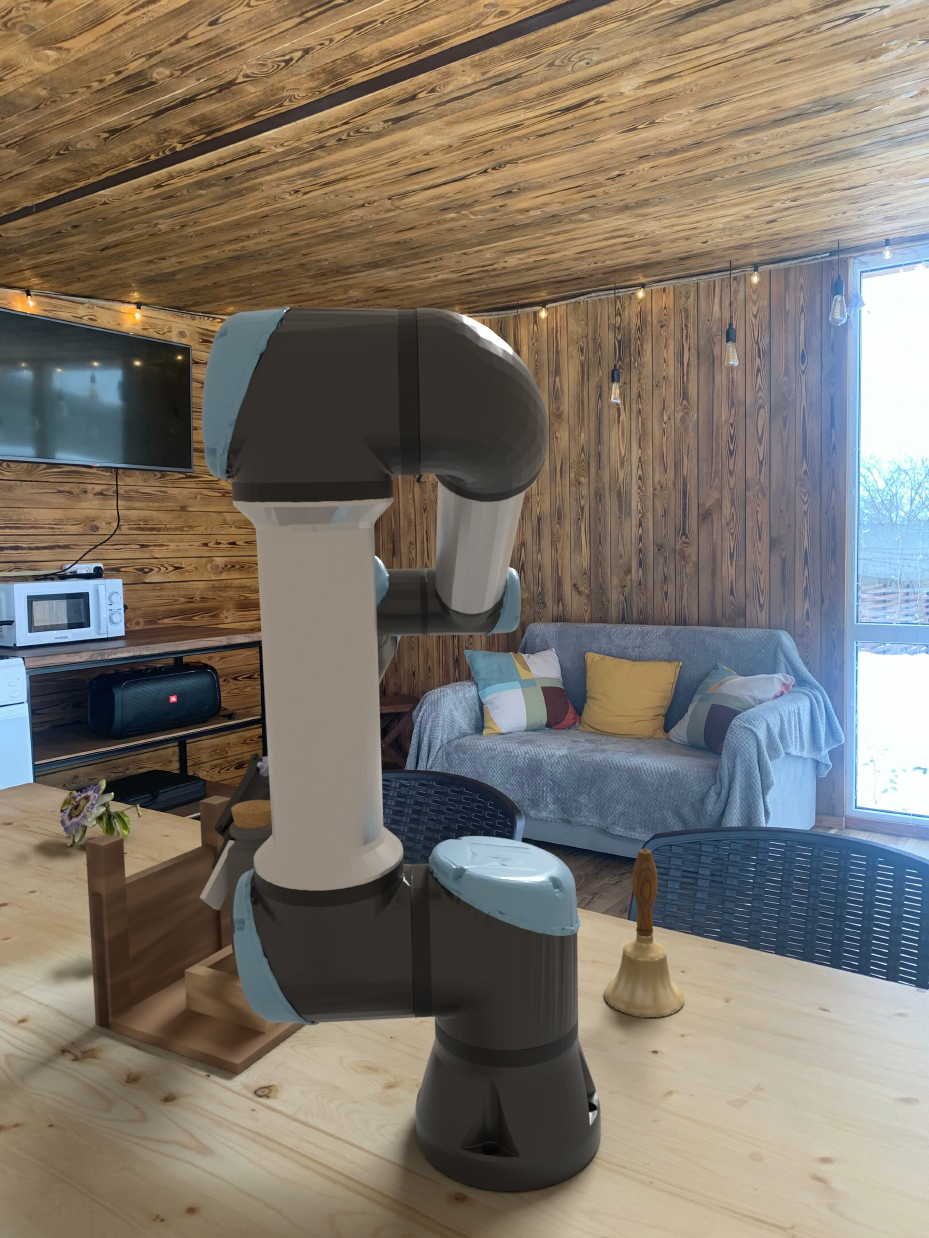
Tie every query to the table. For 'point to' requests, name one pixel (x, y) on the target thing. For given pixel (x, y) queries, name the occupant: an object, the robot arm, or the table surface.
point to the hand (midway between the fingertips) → (233, 909)
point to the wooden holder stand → (171, 955)
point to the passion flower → (92, 814)
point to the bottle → (246, 843)
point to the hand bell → (644, 956)
